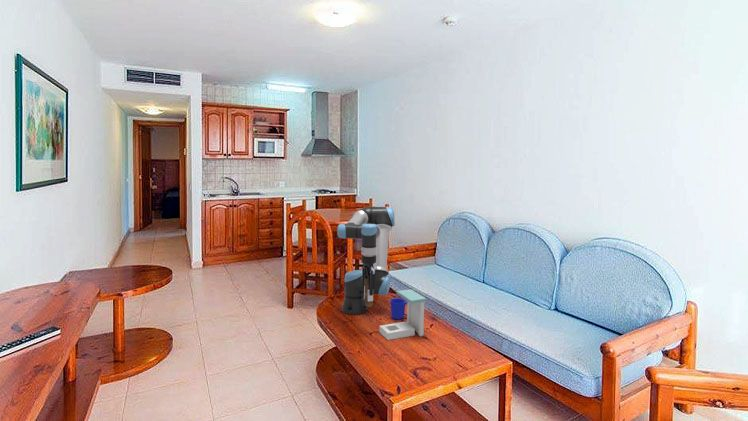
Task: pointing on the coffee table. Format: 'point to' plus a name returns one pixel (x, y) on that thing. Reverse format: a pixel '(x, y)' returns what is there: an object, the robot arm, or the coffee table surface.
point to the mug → (398, 308)
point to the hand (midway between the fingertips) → (368, 299)
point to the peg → (370, 303)
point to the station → (413, 318)
